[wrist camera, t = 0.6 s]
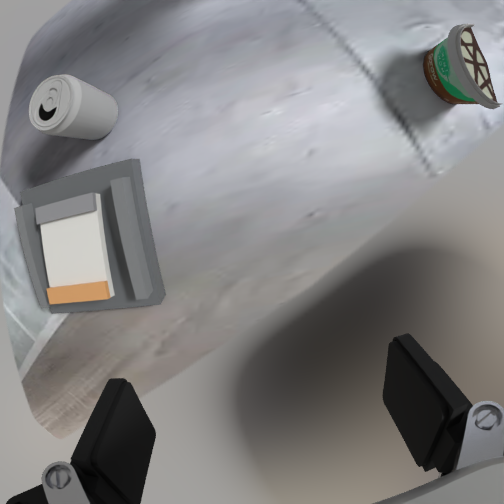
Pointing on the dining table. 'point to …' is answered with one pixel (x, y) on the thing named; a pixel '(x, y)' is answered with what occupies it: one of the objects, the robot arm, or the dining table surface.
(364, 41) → the dining table surface
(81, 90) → the beverage can
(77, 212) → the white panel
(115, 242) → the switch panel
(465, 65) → the food container
